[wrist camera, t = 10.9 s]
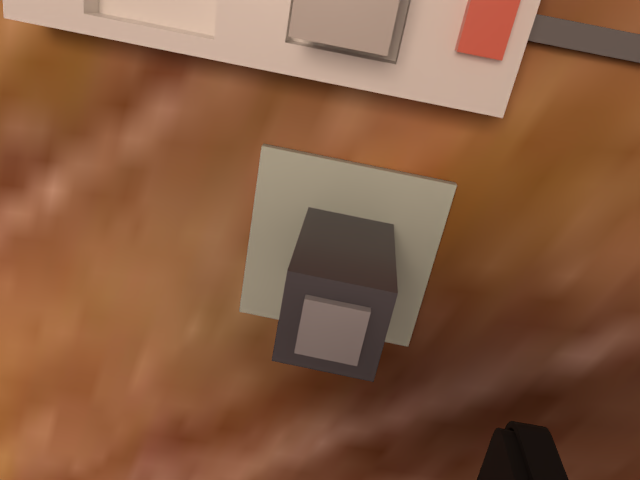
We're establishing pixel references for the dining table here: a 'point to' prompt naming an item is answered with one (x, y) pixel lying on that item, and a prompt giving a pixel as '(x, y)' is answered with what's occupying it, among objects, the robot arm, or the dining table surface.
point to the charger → (338, 295)
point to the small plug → (345, 23)
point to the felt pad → (350, 199)
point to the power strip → (342, 63)
